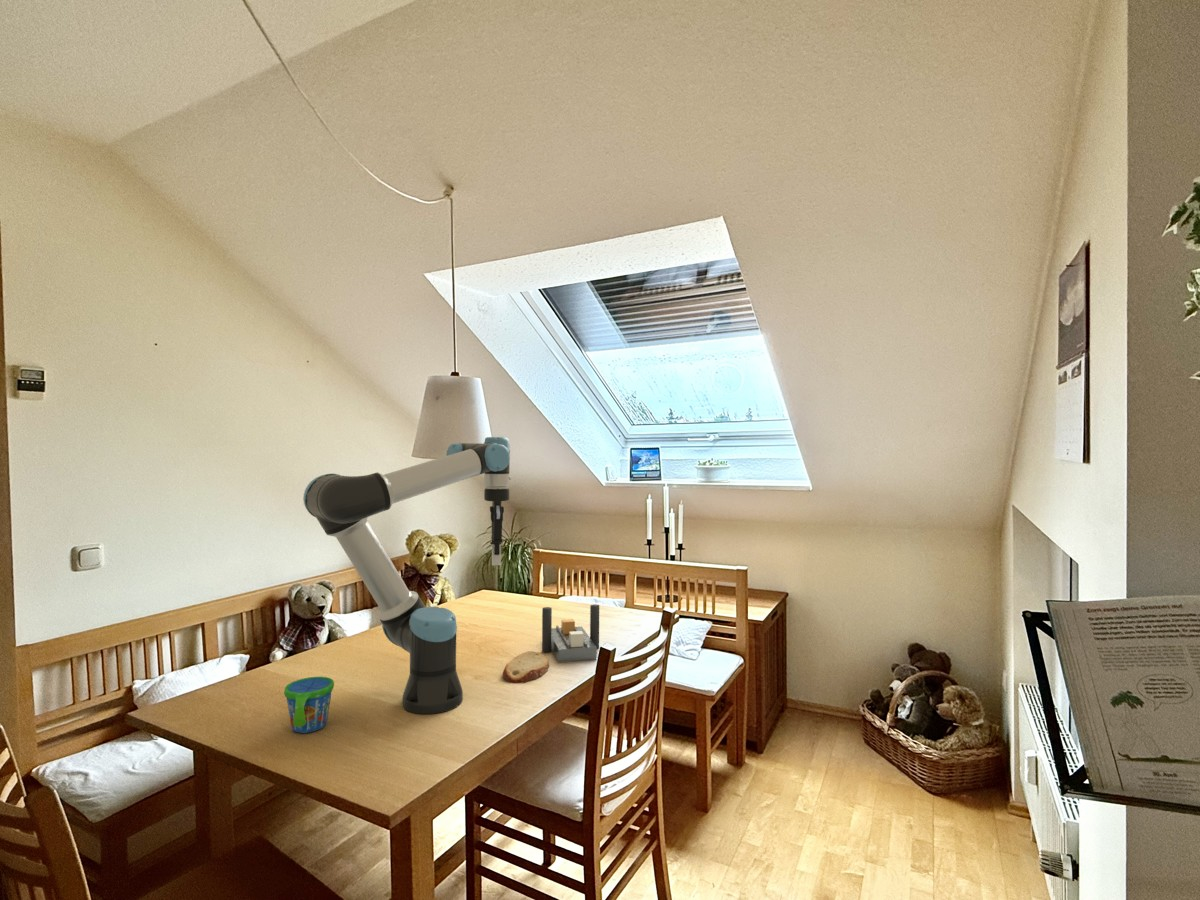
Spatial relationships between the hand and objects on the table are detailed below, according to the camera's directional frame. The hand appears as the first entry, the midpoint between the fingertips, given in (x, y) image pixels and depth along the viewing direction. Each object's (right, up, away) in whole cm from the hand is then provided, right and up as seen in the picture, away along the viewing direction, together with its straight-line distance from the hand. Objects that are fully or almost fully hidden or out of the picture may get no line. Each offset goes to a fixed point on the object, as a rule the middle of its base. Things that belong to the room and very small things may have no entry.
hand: (496, 564), depth 186 cm
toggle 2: (+24, -26, +6) cm, 36 cm away
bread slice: (+9, -31, -4) cm, 33 cm away
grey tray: (+22, -31, +14) cm, 40 cm away
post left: (+14, -30, +12) cm, 36 cm away
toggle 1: (+21, -26, +19) cm, 39 cm away
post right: (+30, -31, +16) cm, 46 cm away
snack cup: (-37, -31, -42) cm, 64 cm away
